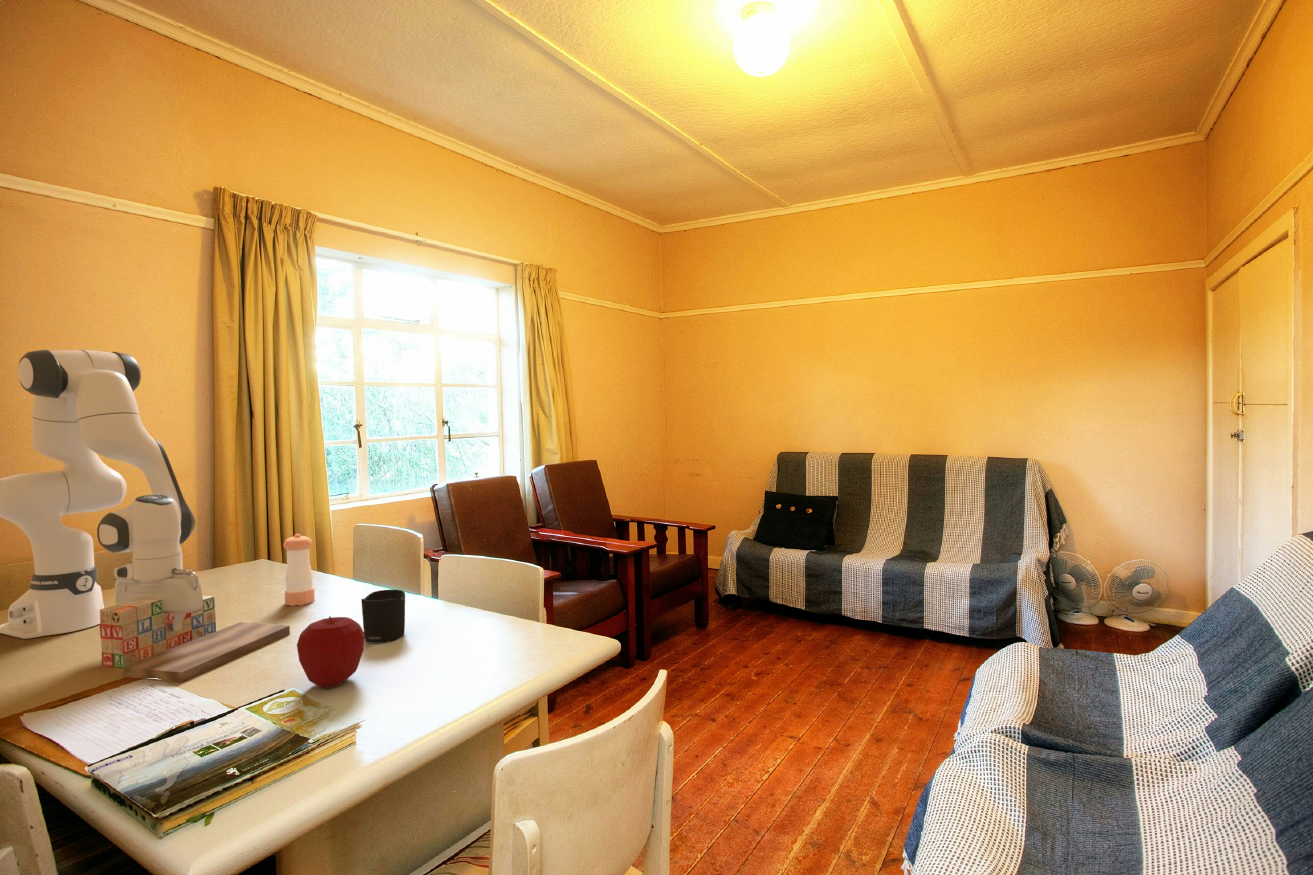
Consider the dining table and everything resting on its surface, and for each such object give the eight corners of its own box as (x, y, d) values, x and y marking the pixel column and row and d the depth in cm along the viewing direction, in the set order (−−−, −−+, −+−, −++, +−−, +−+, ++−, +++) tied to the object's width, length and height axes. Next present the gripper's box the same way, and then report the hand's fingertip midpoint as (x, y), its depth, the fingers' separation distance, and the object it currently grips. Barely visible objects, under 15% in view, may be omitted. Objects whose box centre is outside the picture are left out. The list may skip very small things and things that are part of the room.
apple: (361, 691, 122) (358, 622, 122) (291, 700, 119) (289, 628, 118) (369, 667, 134) (367, 603, 133) (306, 675, 130) (304, 609, 130)
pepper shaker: (306, 596, 186) (304, 530, 185) (319, 601, 182) (317, 533, 181) (280, 603, 180) (277, 534, 179) (292, 607, 176) (290, 537, 175)
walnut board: (124, 676, 131) (123, 667, 131) (240, 630, 158) (239, 622, 158) (181, 682, 128) (181, 672, 128) (289, 633, 155) (289, 625, 155)
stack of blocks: (196, 632, 157) (194, 582, 157) (216, 634, 156) (214, 583, 155) (101, 666, 137) (98, 608, 136) (124, 669, 135) (121, 610, 135)
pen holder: (355, 637, 152) (354, 595, 151) (395, 627, 159) (393, 587, 158) (373, 647, 145) (372, 603, 145) (413, 636, 152) (412, 594, 152)
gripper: (209, 566, 146) (212, 627, 147) (135, 563, 150) (138, 622, 151) (183, 573, 140) (186, 636, 140) (107, 569, 144) (110, 631, 145)
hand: (160, 629), depth 146 cm, fingers open, 7 cm apart
